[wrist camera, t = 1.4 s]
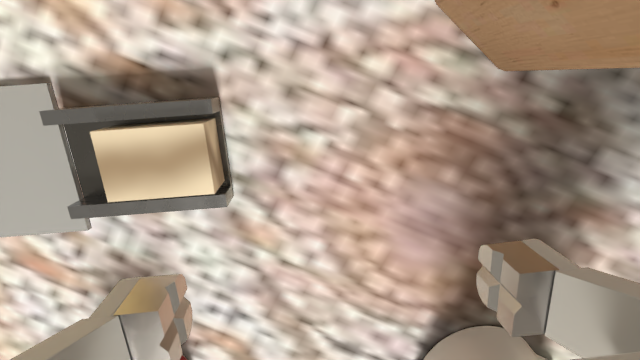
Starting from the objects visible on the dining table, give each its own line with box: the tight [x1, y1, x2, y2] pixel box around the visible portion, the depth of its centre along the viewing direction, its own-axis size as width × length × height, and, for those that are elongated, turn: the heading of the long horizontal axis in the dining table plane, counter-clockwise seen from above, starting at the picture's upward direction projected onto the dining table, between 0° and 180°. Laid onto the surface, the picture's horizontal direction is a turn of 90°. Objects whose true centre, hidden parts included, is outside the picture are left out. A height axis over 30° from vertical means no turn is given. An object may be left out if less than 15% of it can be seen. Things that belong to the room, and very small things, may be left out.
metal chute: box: [39, 97, 234, 219], centre depth 32 cm, size 10×14×3 cm
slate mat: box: [0, 83, 91, 237], centre depth 32 cm, size 14×10×1 cm
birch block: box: [90, 118, 225, 202], centre depth 31 cm, size 6×9×4 cm, turn 94°
